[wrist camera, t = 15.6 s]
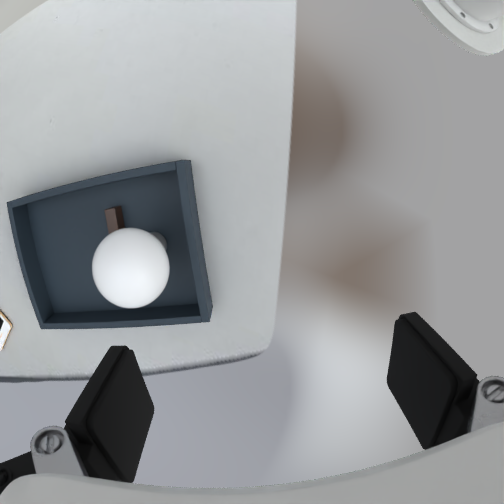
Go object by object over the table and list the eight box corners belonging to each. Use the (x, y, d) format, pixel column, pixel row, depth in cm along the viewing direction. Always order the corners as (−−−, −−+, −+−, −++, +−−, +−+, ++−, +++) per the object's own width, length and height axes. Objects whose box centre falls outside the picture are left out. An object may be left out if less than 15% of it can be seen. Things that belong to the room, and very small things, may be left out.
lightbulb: (152, 283, 32) (116, 336, 21) (116, 235, 30) (63, 270, 20) (198, 250, 31) (176, 295, 20) (161, 199, 29) (119, 219, 19)
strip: (121, 205, 29) (114, 207, 28) (138, 287, 32) (132, 293, 30) (111, 207, 29) (104, 209, 28) (128, 288, 32) (122, 294, 30)
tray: (190, 160, 29) (184, 159, 26) (212, 306, 33) (209, 321, 30) (23, 198, 29) (6, 202, 26) (54, 316, 33) (40, 329, 30)
